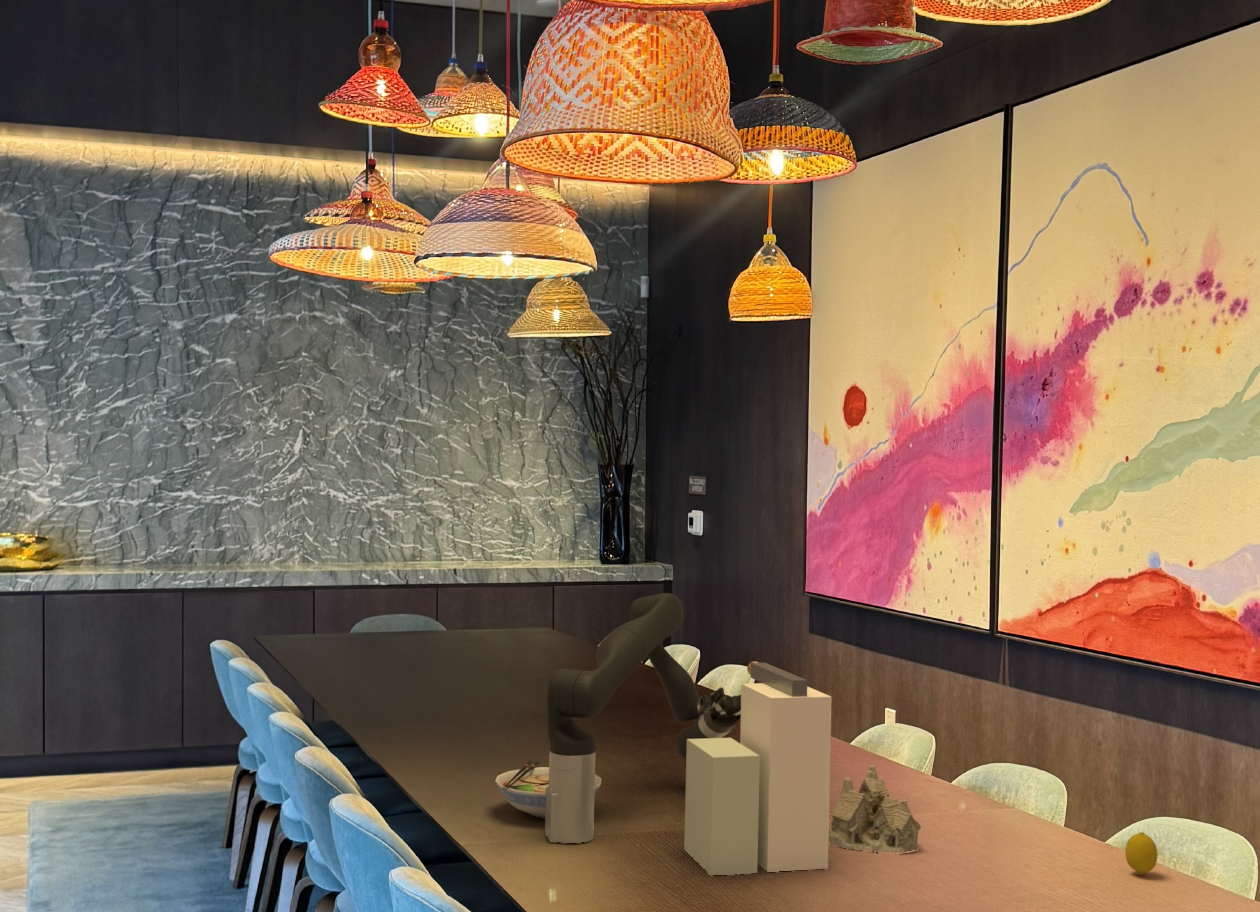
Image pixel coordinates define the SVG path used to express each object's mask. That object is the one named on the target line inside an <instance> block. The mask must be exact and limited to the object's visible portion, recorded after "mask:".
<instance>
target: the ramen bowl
mask: <svg viewBox="0 0 1260 912" xmlns="http://www.w3.org/2000/svg"><path fill="white" fill-rule="evenodd" d="M539 764H540V760H536V761H534V763H532V760H531V759H528V760H527V761H526V763H525V764H524V765H523V766H522V767H521V768H520V769H519V768H518V769H513V770H508V771H505V772H503V773H501V774H499V775H497V776H496V778H495V780H494V781H495V784H496V785H497V788H498V790H499V791H500V793H501V795H502V796H503V798H504V799H505V800H506V801H507V802H508V803H509V804H510V805H511V806H513V807H514V808H515V809H517V810H519V811H522V812H524V813H527V814H530V815H531V816H532V815H533V817H535V816H536V818H538V817H541V818H540V819H545V810H546V787H548V786H549V766H547V767H546V766H541V767H539V766H538V765H539ZM601 785H602V777H600V776H599V775H597V774H596V773H595V793H594V796H596V794H597V793H598V791H599V789H600V787H601Z"/></svg>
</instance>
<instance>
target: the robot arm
mask: <svg viewBox="0 0 1260 912" xmlns="http://www.w3.org/2000/svg"><path fill="white" fill-rule="evenodd" d="M629 609H630V610H629V616H630V620H629V621H628V622H625V623H624V624H621V625H620V626H618V627H616V628H615V629H613V630H612V631H611V632H610V633H608V635H606V636H605V637H604V638H603V639H602V640H601V642H599V644H598V647H597V649H596V654H595V659H596V660H595V661H596V665H597V668H596V669H594V670H579V669H569V668H568V669H567V668H560V669H559V668H558V669H556V670H554V671H553V672H552V674H551V675H550V677H549V679H548V682H547V683H548V684H547V688H546V713H547V714H546V719H547V725H546V726H547V739H548V745H549V748H548V749H549V754H548V755H549V757H548V759H549V760H548V767H549V786H548V787H546V810H545V818H544V819H545V821H544V822H545V823H544V835H545V836H546V838H547V837H548V838H547V840H548V841H549V843H551V842H553V843H557V842H561V843H560V844H566V843H577V844H583V843H582V842H584V843H587V842H591V841H592V840H593V839H594V829H595V826H594V825H595V821H594V820H595V795H594V793H595V774H596V748H597V747H596V746H597V745H596V738H595V736H594V735H593V734H591V733H589V732H588V731H586V730H584V729H583V728H581V727H580V726H579V725H578V723H576V721H575V719H574V718H581V719H591V718H594V717H597V715H598V714H600V713H601V711H602V710H603V709H604V707H606V705H607V704H608V702H609V701H610V700H611V698H612V696H613V695H614V694H615V692H616V690H617V689H618V688H619V686H621V684H622V683H623V682H624V681H625V680H626V679H627V678H628V676H630V675H631V674H632V673H633V672H634V671H635V670H636V669H637V668H638V667H639V666H640V665H641V663H643V662H644V660H645V659H646V658H648V659H649V661H650V663H651V665H652V667H653V669H654V670H655V672H656V675H657V676H658V677H659V680H660V682H661V685H662V687H663V690H664V693H665V695H666V698H667V701H668V703H669V706H670V709H671V713H672V715H673V717H674V719H675V720H676V721H678V722H689V721H693V720H694V722H692V723H691V724H690V725H688V726H687V727H686V728H684V729H683V730H682V731H681V732H679V733H678V734H677V737H676V739H675V746H676V747H675V748H676V751H677V753H678V755H679V756H680V757H681V758H682V759H684V760H686V754H687V739H705V738H724V736H726V735H728V734H729V733H730V732H731V731H732V729H734V727H735V726H736V725H738V723H739V722H740V721H741V694H739V695H732V696H731V695H730V694H729V695H728V694H725V689H724V687H718V689H716V690H715V691H714V692H712V693H710V695H708V694H707V693H703V694H702V695H701V696H700V695H699V693H698V690H697V688H696V687H697V686H696V684H695V682H694V680H693V678H692V677H691V675H690V673H689V672H688V671H687V670H686V669H685V668H684V667H683V666H682V665H681V664H680V663H679V662H678V661H677V660H676V659H675V658H673V656H671V654H669V652H668V651H667V649H666V648H665V647H664V645H663V644H662V642H663V641H664V640H665V639H667V638H669V637H670V636H671V635H672V634H674V633H676V632H677V630H679V629H680V627H681V626H682V624H683V619H684V606H683V603H682V602H681V600H680V599H679V598H678V597H677V596H676V595H675V594H673V593H670V592H668V593H667V592H663V593H658V594H653V595H652V594H651V595H647V596H643V597H640V598H636V599H635V600H633V602H632V603H631V605H630V608H629Z"/></svg>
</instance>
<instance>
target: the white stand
mask: <svg viewBox="0 0 1260 912" xmlns="http://www.w3.org/2000/svg"><path fill="white" fill-rule="evenodd" d="M740 689H741V691H740V692H741V693H740V695H741V718H740V737H739V739H740V740H739V743H740V744H742V745H743V746H745V747H746V748H748V749H750V750H751V751H753V752H754V753H756V754H758V755H759V756H760V771H759V816H758V861H757V863H758V864H759V865H760V866H761V867H762V868H763V869H764V871H765V870H766V871H767V872H776V873H780V872H779V871H790V870H808V871H810V870H809V869H821V868H828V869H829V844H828V843H829V828H830V797H831V796H830V793H831V792H830V789H831V788H830V787H831V784H830V783H831V743H832V740H831V739H832V737H831V736H832V698H833V697H832V696H831V695H828V694H826V693H823V692H821V691H819V690H817V689H815V688H813V687H809V686H807V696H801V697H792V696H789V695H787V694H785V693H783V692H781V691H779V690H776V689H774V688H772V687H770V686H768V685H766V684H763V683H761V682H757V683H741V687H740ZM758 864H757V865H758ZM759 865H758V866H759ZM760 866H759V867H760ZM761 867H760V868H761ZM762 868H761V869H762ZM763 869H762V870H763ZM766 871H765V872H766ZM767 872H766V873H767Z"/></svg>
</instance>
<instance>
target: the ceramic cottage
mask: <svg viewBox="0 0 1260 912" xmlns="http://www.w3.org/2000/svg"><path fill="white" fill-rule="evenodd" d="M868 768H869V770H867V771H866V777H865V778H863V780H862V783H861V784H860V787H859V790H858V791H855V790H854V782H853V778H852V777H844V778H843V780H842V781H843V782H842V786H841V790H840V798H839V800H838V802H837V804H836V805H835V807H834V809H832V812H831V813H829V816H831V817H832V820H831V822H830V825H831V827H829V842H830V843H831V844H833V845H837V846H839V848H840V847H844V848H848V849H855V850H854V851H857V850H870V851H880V852H895V853H896V852H900V853H901V852H902V853H903V852H907V851H912V850H917V849H918V848H919V849H920V846H919V844H918V837H919V831H920V830H921V829H922V827H921V824H920V823H919V822H918V821H917V820H916V819H915V818H914V816H913V813H912V811H911V809H910V807H909V804H908V800H907V799H906V798H905V799H904V798H903V799H901V800H900V802H898V800H897V799H896V798H893V797H890V792H889V790H888V787H887V785H886V782H885V780H884V777H882V776H880V777H878V772H877V768H876V766H875V765H869V767H868ZM833 845H832V846H833Z"/></svg>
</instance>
